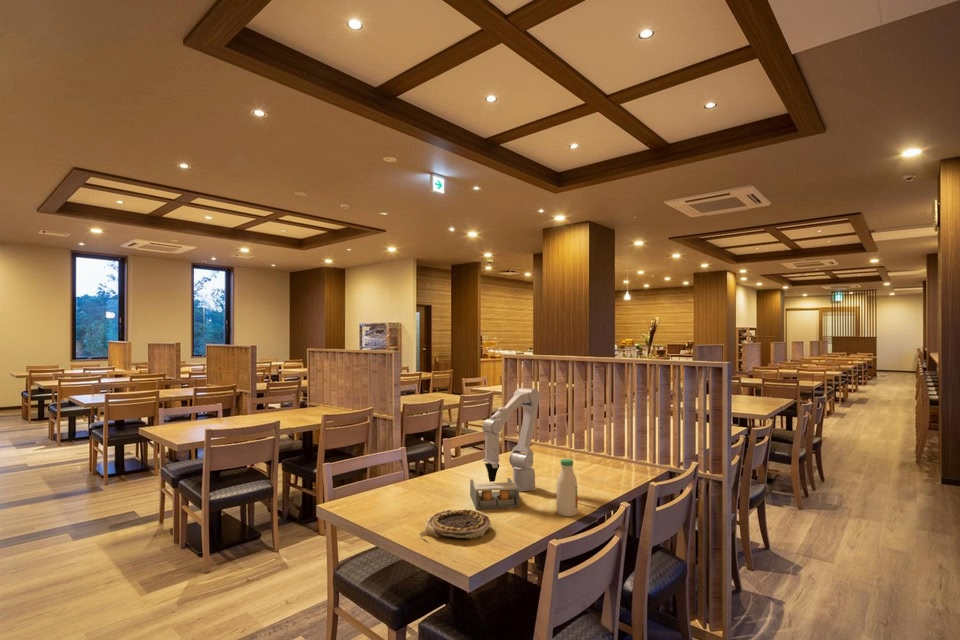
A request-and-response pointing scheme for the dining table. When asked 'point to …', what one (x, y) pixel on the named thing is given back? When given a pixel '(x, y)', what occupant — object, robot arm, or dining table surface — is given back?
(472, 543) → the dining table surface
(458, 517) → the pie
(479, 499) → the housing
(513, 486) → the lid
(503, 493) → the orange rounded block
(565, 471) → the milk bottle
